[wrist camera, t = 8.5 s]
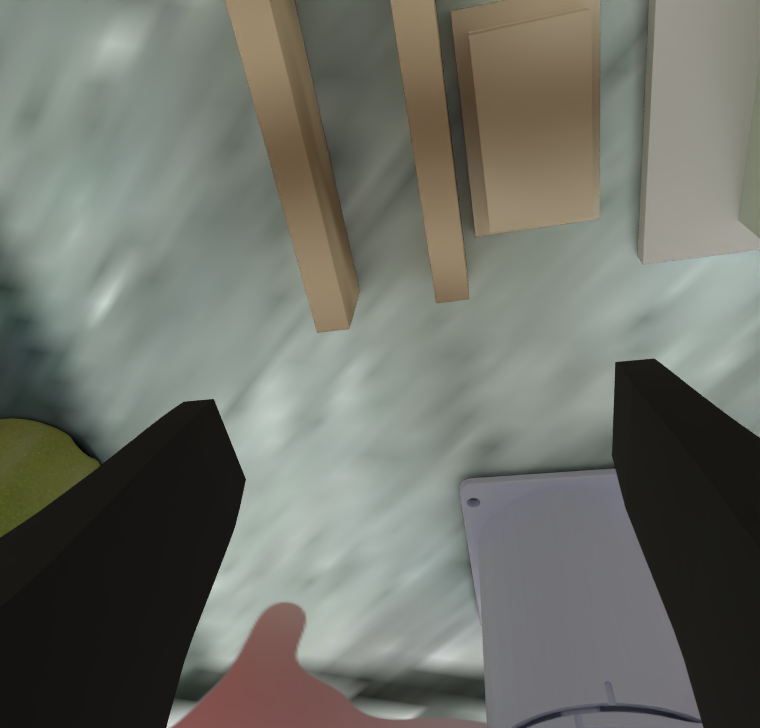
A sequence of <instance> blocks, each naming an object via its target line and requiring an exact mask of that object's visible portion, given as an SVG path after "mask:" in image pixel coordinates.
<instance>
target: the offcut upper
mask: <svg viewBox="0 0 760 728" xmlns="http://www.w3.org/2000/svg"><path fill="white" fill-rule="evenodd" d="M468 34H469V43H470V52H471V61H472V71H473V80H474V89H475V98H476V107H477V116H478V125H479V134H480V143H481V152H482V161H483V171H484V180H485V189H486V198H487V207H488V216H489V225H490V233H493V232H500V231H507V230H513V229H520V228H526V227H533V226H540V225H546V224H553V223H560V222H566V221H573V220H579V219H586V218H593V217H594V193H593V123H592V53H591V9H589V8H585V7H579V8H575V9H570V10H566V11H561V12H557V13H552V14H548V15H543V16H539V17H534V18H530V19H525V20H520V21H516V22H511V23H507V24H502V25H498V26H493V27H489V28H484V29H480V30H475V31H471V32H468Z"/></svg>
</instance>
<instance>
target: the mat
mask: <svg viewBox="0 0 760 728" xmlns="http://www.w3.org/2000/svg"><path fill="white" fill-rule="evenodd" d="M759 60H760V0H649V11H648V33H647V56H646V78H645V101H644V123H643V146H642V169H641V191H640V214H639V236H638V258H639V259H640V261H641V262H642V264H650V263H658V262H666V261H674V260H682V259H690V258H698V257H706V256H714V255H722V254H730V253H738V252H746V251H754V250H760V238H758V237H757V236H756V235H755V234H754V233H752V232H751V231H750V230H749V229H748V228H747V227H745V226H744V225H743V224H742V223H741V222H739V221H738V218H739V210H740V203H741V195H742V188H743V180H744V173H745V165H746V158H747V150H748V143H749V135H750V128H751V120H752V113H753V105H754V98H755V90H756V83H757V75H758V68H759Z"/></svg>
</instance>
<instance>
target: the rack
mask: <svg viewBox="0 0 760 728" xmlns="http://www.w3.org/2000/svg"><path fill="white" fill-rule="evenodd" d="M225 1H226V5H227V8H228V12H229V15H230V19H231V23H232V26H233V30H234V33H235V37H236V41H237V44H238V48H239V52H240V55H241V59H242V62H243V66H244V70H245V73H246V77H247V80H248V84H249V88H250V91H251V95H252V99H253V102H254V106H255V109H256V113H257V117H258V120H259V124H260V127H261V131H262V135H263V138H264V142H265V145H266V149H267V153H268V156H269V160H270V164H271V167H272V171H273V174H274V178H275V182H276V185H277V189H278V192H279V196H280V200H281V203H282V207H283V211H284V214H285V218H286V221H287V225H288V229H289V232H290V236H291V239H292V243H293V247H294V250H295V254H296V257H297V261H298V265H299V268H300V272H301V276H302V279H303V283H304V286H305V290H306V294H307V297H308V301H309V304H310V308H311V312H312V315H313V319H314V323H315V326H316V330H317V333H319V332H328V331H336V330H345V329H349V328H350V325H351V321H352V318H353V314H354V311H355V307H356V304H357V300H358V297H359V293H360V291H359V286H358V282H357V277H356V273H355V268H354V264H353V260H352V255H351V251H350V246H349V242H348V237H347V233H346V228H345V224H344V219H343V215H342V211H341V206H340V202H339V197H338V193H337V188H336V184H335V179H334V175H333V170H332V166H331V162H330V157H329V153H328V148H327V144H326V139H325V135H324V130H323V126H322V121H321V117H320V112H319V108H318V104H317V99H316V95H315V90H314V86H313V81H312V77H311V72H310V68H309V63H308V59H307V55H306V50H305V46H304V41H303V37H302V32H301V28H300V23H299V19H298V14H297V10H296V6H295V1H294V0H225ZM390 1H391V8H392V14H393V21H394V27H395V34H396V41H397V47H398V54H399V60H400V67H401V74H402V80H403V87H404V93H405V100H406V107H407V113H408V120H409V126H410V133H411V140H412V146H413V153H414V159H415V166H416V173H417V179H418V186H419V192H420V199H421V206H422V212H423V219H424V225H425V232H426V239H427V245H428V252H429V258H430V265H431V271H432V278H433V285H434V291H435V298H436V303H442V302H450V301H459V300H467V299H469V288H468V275H467V266H466V258H465V249H464V241H463V232H462V224H461V215H460V207H459V198H458V190H457V181H456V173H455V164H454V156H453V147H452V139H451V130H450V122H449V113H448V105H447V96H446V88H445V79H444V71H443V62H442V54H441V45H440V37H439V28H438V20H437V11H436V3H435V0H390Z"/></svg>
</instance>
